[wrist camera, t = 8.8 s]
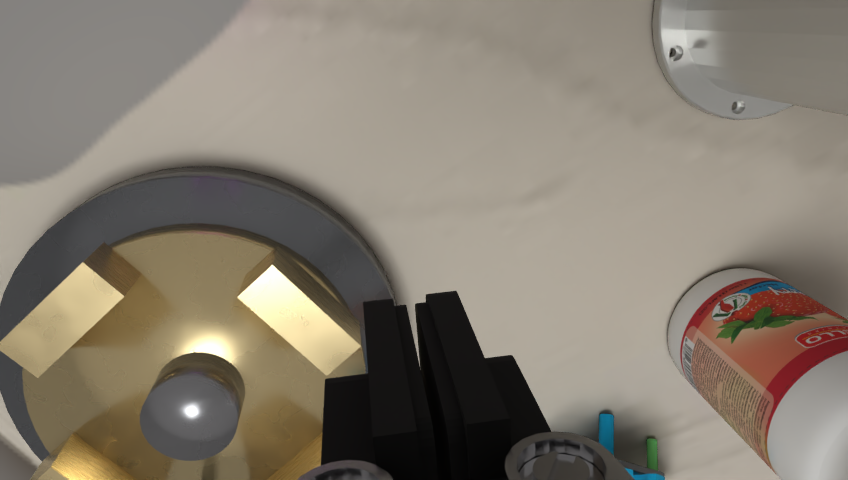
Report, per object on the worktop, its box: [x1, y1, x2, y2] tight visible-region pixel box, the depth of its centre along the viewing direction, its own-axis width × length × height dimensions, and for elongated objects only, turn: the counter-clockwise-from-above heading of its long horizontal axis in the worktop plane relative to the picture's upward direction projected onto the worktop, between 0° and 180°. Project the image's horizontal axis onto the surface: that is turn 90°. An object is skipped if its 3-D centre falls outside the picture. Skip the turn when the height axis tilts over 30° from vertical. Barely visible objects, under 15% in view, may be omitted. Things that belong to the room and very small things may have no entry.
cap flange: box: [0, 167, 397, 461], centre depth 41 cm, size 24×24×3 cm
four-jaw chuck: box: [0, 223, 366, 480], centre depth 37 cm, size 19×19×5 cm
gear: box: [599, 414, 665, 480], centre depth 46 cm, size 11×6×10 cm
